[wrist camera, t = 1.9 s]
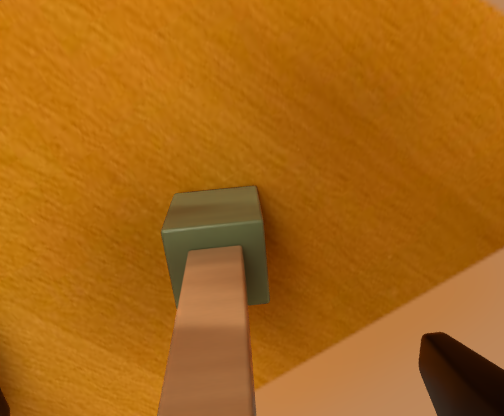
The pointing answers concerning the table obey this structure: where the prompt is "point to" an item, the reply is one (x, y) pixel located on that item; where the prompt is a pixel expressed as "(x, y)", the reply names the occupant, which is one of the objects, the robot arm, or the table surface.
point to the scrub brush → (213, 300)
